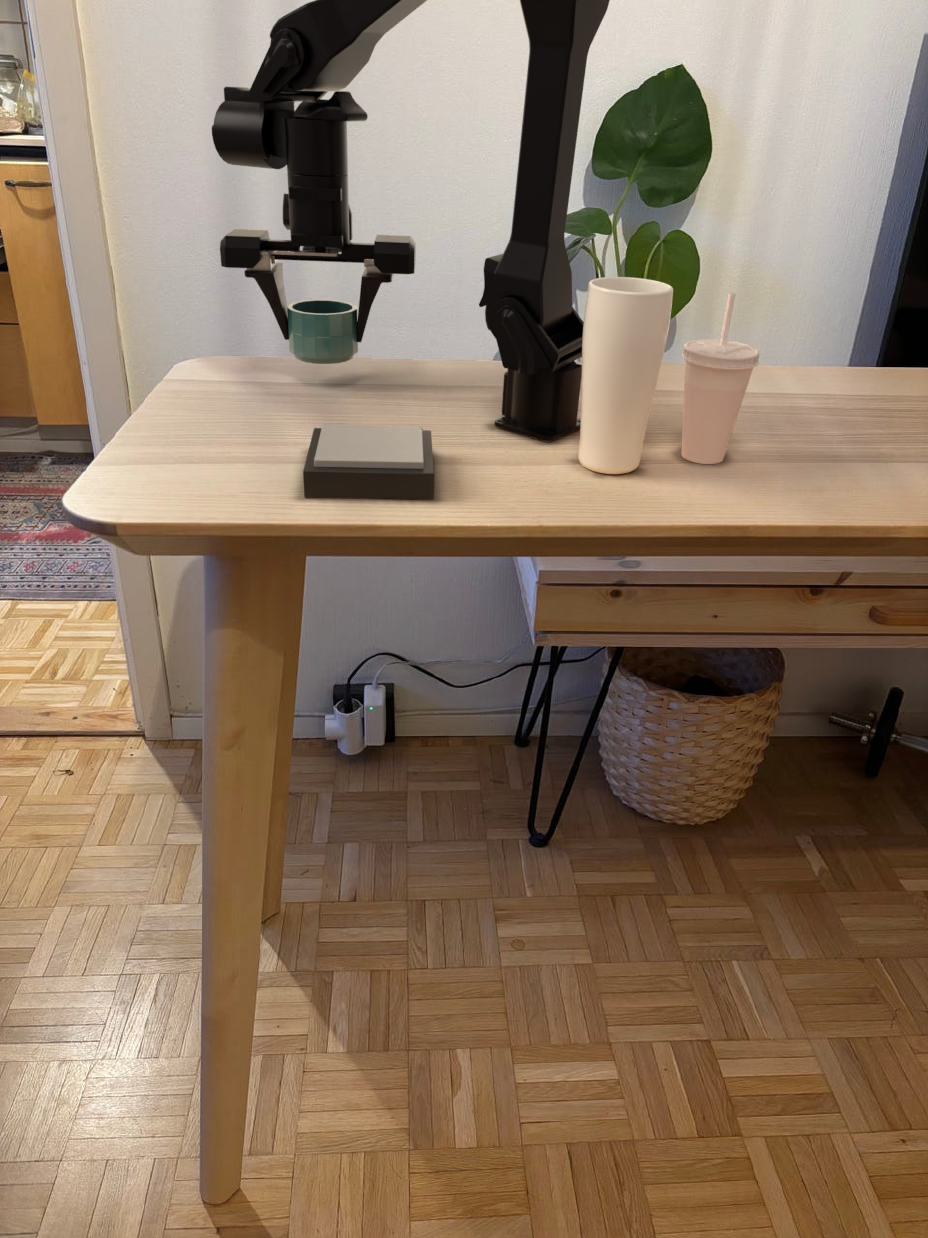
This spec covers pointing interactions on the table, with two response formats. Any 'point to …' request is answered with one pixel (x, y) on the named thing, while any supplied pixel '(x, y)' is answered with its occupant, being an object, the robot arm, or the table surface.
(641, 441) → the white tumbler
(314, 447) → the scale
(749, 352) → the smoothie
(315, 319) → the bowl
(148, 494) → the table surface
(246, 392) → the table surface
